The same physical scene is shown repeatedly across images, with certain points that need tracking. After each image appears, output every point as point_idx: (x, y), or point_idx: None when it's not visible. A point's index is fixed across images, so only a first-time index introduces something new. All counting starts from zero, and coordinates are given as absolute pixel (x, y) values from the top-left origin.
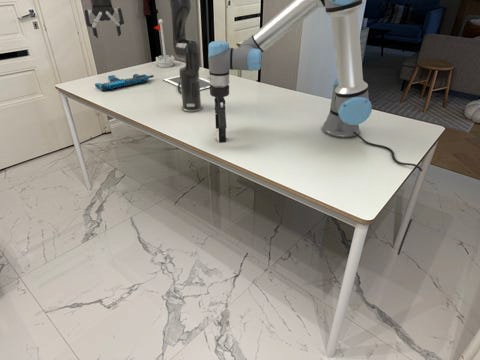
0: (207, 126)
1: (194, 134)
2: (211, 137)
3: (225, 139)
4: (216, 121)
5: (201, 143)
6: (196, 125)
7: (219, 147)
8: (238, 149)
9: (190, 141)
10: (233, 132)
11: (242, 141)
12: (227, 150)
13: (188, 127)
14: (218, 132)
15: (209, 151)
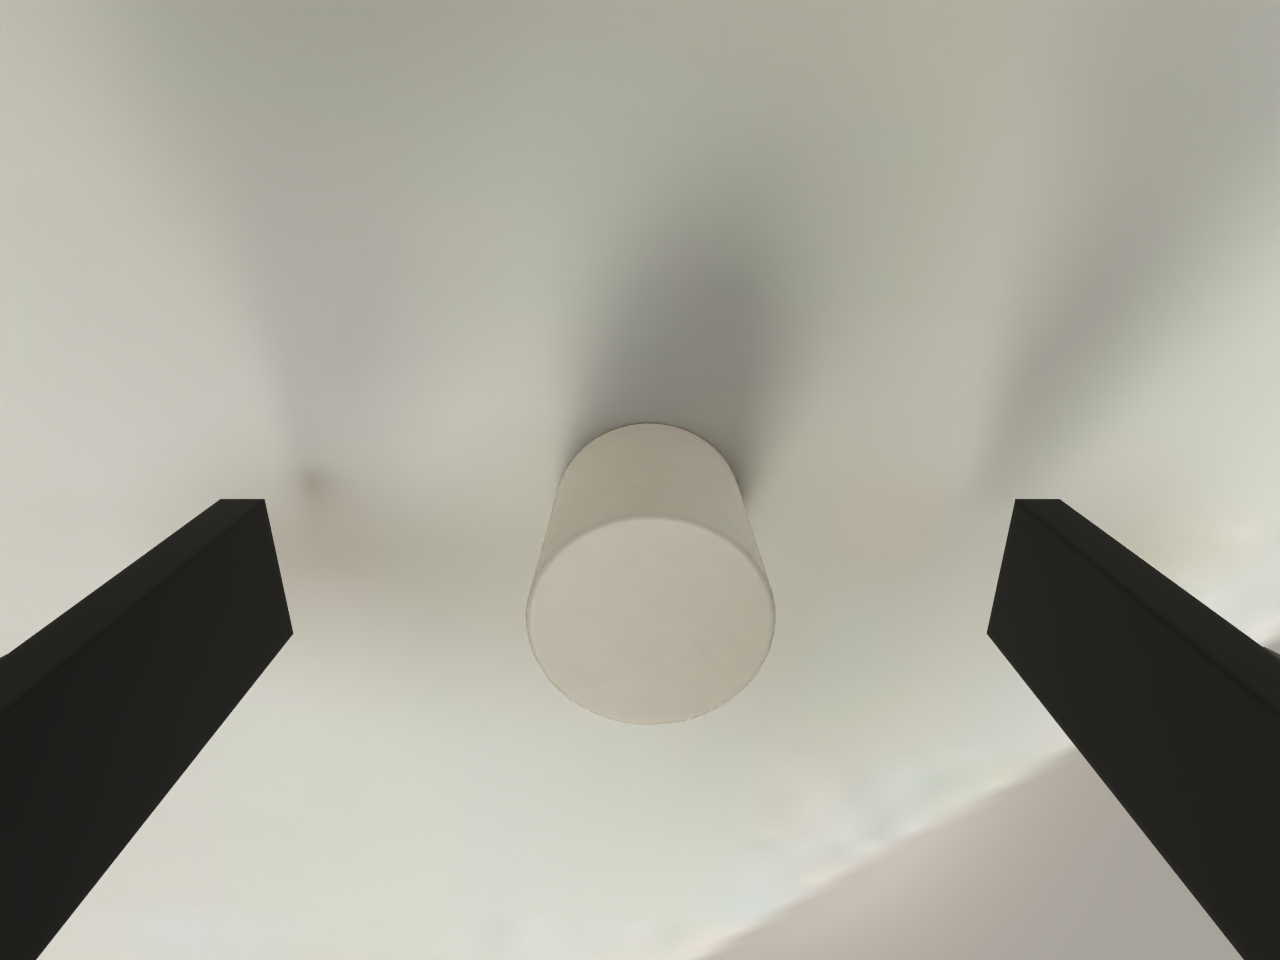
0: None
1: (385, 888)
2: (527, 668)
3: (1099, 543)
4: (180, 752)
5: (737, 819)
6: None
7: (978, 576)
8: (1225, 206)
9: (633, 939)
10: (295, 188)
11: (853, 20)
12: (1160, 449)
13: (114, 947)
14: (740, 686)
15: (1061, 735)
